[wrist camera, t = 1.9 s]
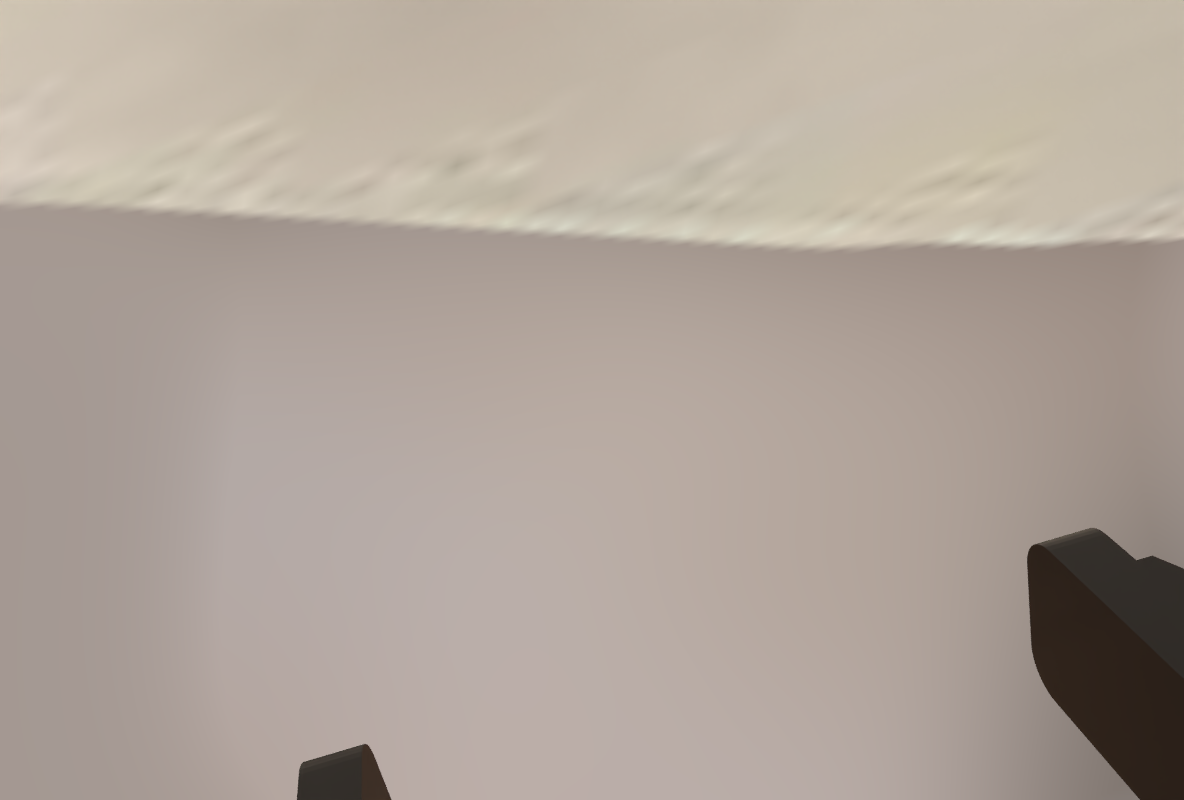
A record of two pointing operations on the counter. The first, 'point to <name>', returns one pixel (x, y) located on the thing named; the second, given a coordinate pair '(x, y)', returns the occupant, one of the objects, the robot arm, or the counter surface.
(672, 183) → the counter surface
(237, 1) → the counter surface
